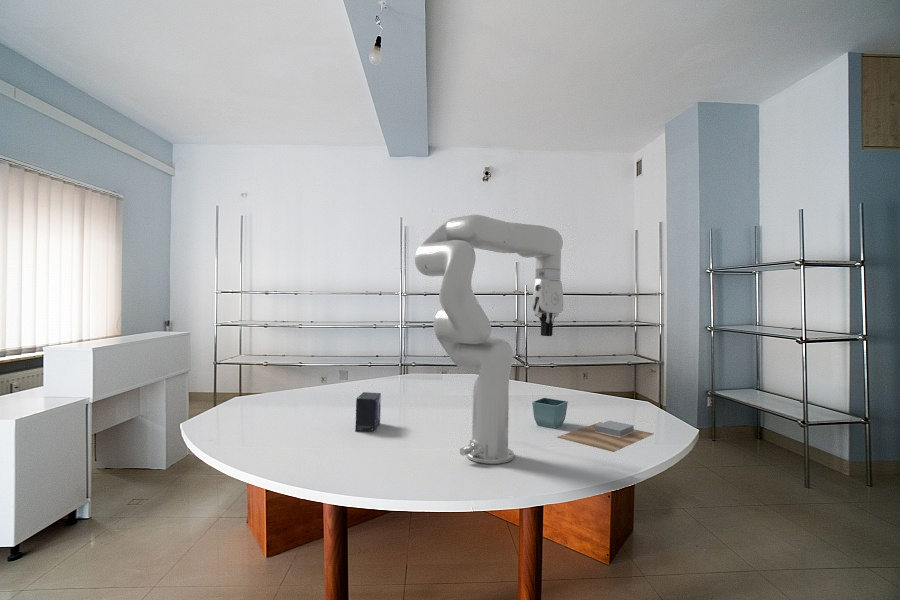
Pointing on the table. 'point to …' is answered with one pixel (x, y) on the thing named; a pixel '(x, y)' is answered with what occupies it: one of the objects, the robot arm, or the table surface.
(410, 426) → the table surface
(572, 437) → the board
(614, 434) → the tile
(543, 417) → the flower pot
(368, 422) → the small box
